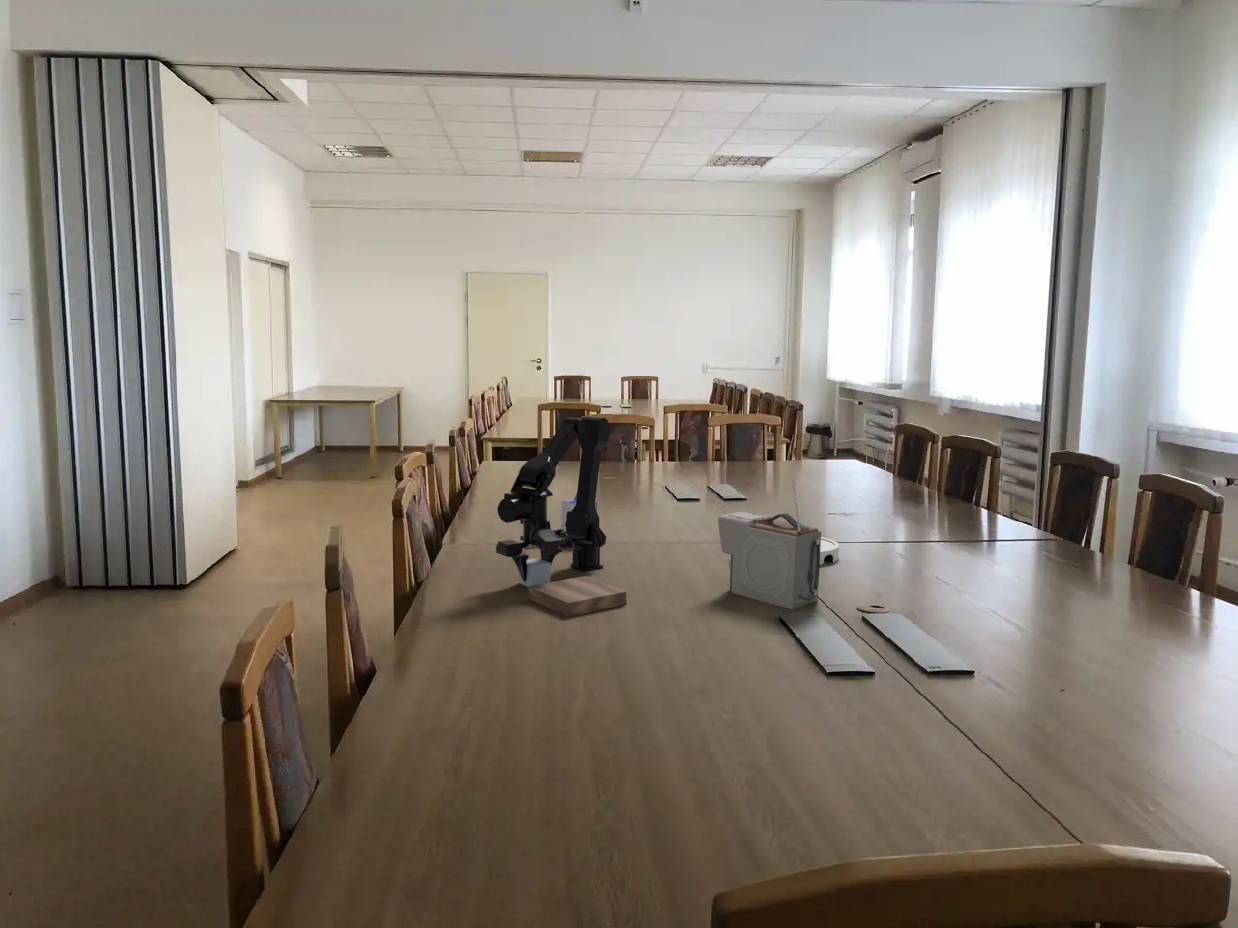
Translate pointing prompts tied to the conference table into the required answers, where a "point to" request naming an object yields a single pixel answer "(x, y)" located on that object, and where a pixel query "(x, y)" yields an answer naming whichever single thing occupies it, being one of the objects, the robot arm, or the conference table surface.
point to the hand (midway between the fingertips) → (534, 578)
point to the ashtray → (828, 549)
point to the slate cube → (536, 572)
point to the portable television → (772, 558)
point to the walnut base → (577, 595)
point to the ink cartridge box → (568, 506)
